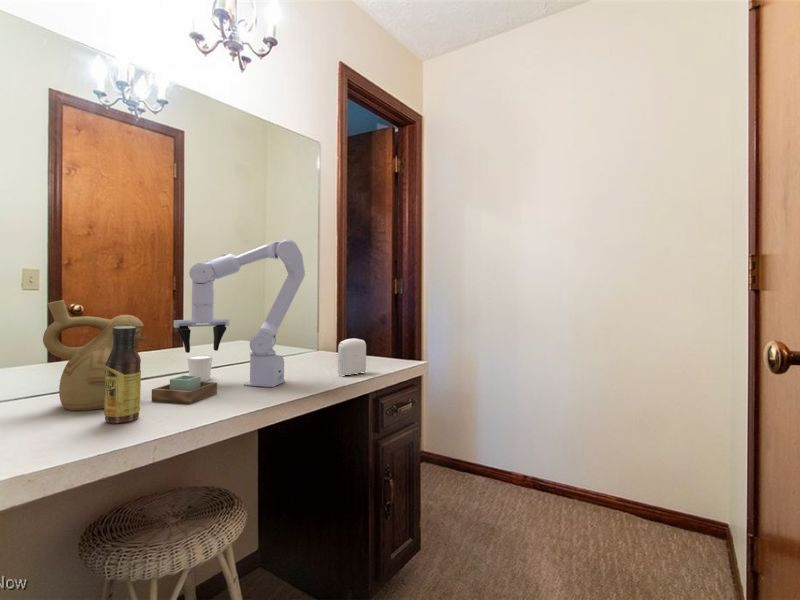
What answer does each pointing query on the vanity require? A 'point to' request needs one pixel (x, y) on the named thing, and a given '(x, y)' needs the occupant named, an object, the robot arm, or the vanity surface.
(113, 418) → the sauce bottle
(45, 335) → the ceramic vessel
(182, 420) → the vanity surface
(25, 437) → the vanity surface
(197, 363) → the white rounded block
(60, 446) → the vanity surface
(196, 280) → the robot arm
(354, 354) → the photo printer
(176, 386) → the mint green block
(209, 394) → the wooden tray
